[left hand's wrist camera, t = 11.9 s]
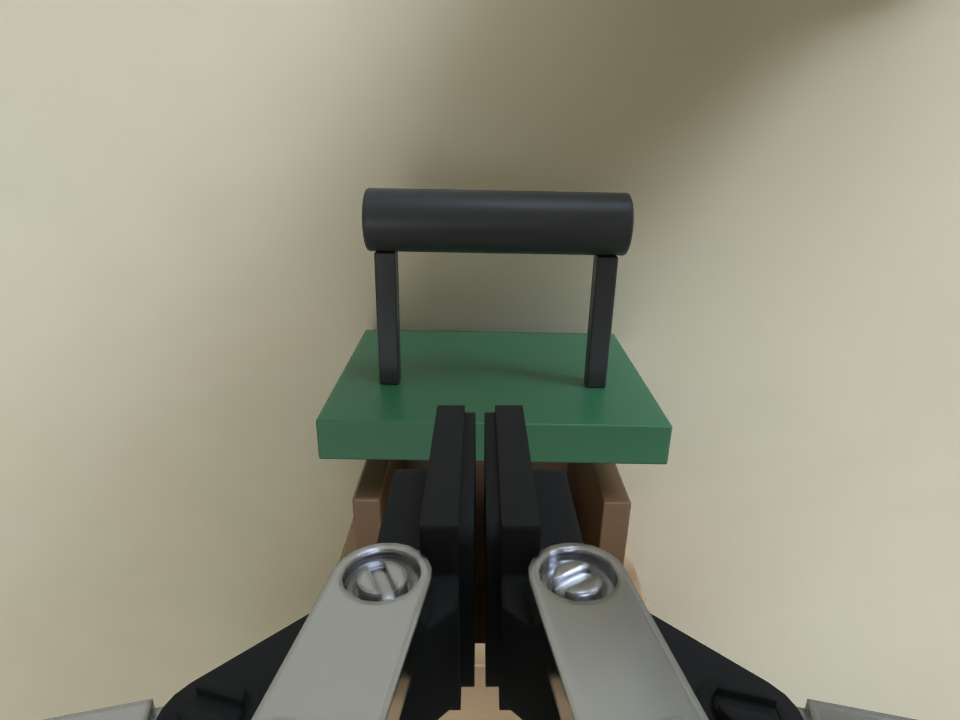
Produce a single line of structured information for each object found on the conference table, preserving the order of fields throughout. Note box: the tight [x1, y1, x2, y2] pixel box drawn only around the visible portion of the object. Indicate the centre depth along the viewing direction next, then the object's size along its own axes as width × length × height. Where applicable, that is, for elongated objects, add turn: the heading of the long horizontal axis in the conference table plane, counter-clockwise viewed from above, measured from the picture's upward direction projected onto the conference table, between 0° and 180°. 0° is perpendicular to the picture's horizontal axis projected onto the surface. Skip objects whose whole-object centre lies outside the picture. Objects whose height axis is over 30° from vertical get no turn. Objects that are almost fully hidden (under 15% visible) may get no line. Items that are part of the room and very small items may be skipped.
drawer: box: [316, 188, 672, 643], centre depth 22 cm, size 18×10×8 cm, turn 179°
